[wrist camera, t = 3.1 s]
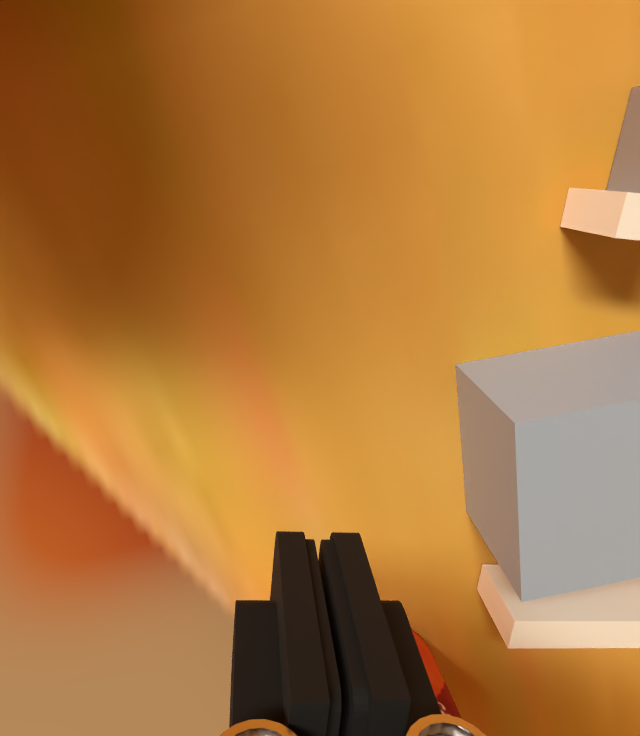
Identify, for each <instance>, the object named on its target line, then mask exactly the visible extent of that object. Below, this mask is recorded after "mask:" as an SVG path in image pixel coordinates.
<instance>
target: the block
mask: <svg viewBox="0 0 640 736" xmlns="http://www.w3.org/2000/svg"><path fill="white" fill-rule="evenodd" d="M455 366H456V379H457V393H458V406H459V419H460V433H461V446H462V460H463V473H464V487H465V500H466V512H467V513H468V515H469V517H470V518H471V520H472V522H473V523H474V525H475V527H476V528H477V530H478V531H479V533H480V535H481V536H482V538H483V540H484V541H485V543H486V545H487V546H488V548H489V549H490V551H491V553H492V554H493V556H494V558H495V559H496V561H497V563H498V564H499V566H500V567H501V569H502V571H503V572H504V574H505V576H506V577H507V579H508V581H509V582H510V584H511V586H512V587H513V589H514V590H515V592H516V594H517V595H518V597H519V599H520V600H521V602H524V601H529V600H534V599H539V598H544V597H549V596H554V595H559V594H563V593H568V592H573V591H578V590H583V589H588V588H593V587H598V586H603V585H607V584H612V583H617V582H622V581H627V580H632V579H637V578H640V331H635V332H630V333H624V334H619V335H613V336H608V337H602V338H597V339H591V340H586V341H580V342H575V343H569V344H564V345H558V346H553V347H547V348H542V349H536V350H531V351H525V352H520V353H514V354H509V355H503V356H498V357H492V358H487V359H482V360H476V361H471V362H465V363H460V364H455Z"/></svg>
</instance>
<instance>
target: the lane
mask: <svg viewBox="0 0 640 736" xmlns="http://www.w3.org/2000/svg"><path fill="white" fill-rule="evenodd" d="M560 227H564V228H569V229H574V230H578V231H583V232H588V233H593V234H598V235H603V236H608V237H613V238H620V239H631V240H640V86H638V87H633V88H632V90H631V94H630V98H629V102H628V106H627V110H626V114H625V118H624V122H623V126H622V130H621V134H620V138H619V142H618V146H617V150H616V154H615V158H614V162H613V166H612V170H611V174H610V178H609V182H608V186H607V190H593V189H580V188H569V191H568V195H567V199H566V204H565V208H564V212H563V217H562V221H561V225H560ZM477 591H478V592H479V594H480V596H481V598H482V600H483V602H484V604H485V606H486V608H487V610H488V612H489V614H490V615H491V617H492V619H493V621H494V623H495V625H496V627H497V629H498V631H499V633H500V635H501V637H502V638H503V640H504V642H505V644H506V646H507V648H640V578H637V579H632V580H627V581H622V582H617V583H612V584H607V585H603V586H598V587H593V588H588V589H583V590H578V591H573V592H568V593H563V594H559V595H554V596H549V597H544V598H539V599H534V600H529V601H524V602H521V600H520V599H519V597H518V595H517V594H516V592H515V590H514V589H513V587H512V586H511V584H510V582H509V581H508V579H507V577H506V576H505V574H504V572H503V571H502V569H501V567H500V566H499V565H493V564H483V565H482V569H481V574H480V578H479V582H478V587H477Z"/></svg>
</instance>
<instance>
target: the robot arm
mask: <svg viewBox="0 0 640 736" xmlns="http://www.w3.org/2000/svg"><path fill="white" fill-rule="evenodd" d="M229 726H230V727H229V729H227V730H226V731H225V732H223V733H222V734H221V735H220V736H486V735H485V734H484V733H483V732H482V731H480V730H479V729H478V728H477V727H476V726H474V725H473V724H471V723H469V722H467V721H465V720H463V719H461V718H458V717H454V716H450V715H446V714H442V713H441V710H440V708H439V705H438V702H437V699H436V696H435V694H434V691H433V688H432V685H431V683H430V680H429V677H428V674H427V671H426V669H425V666H424V663H423V660H422V657H421V655H420V652H419V649H418V646H417V644H416V641H415V638H414V635H413V632H412V630H411V627H410V624H409V621H408V619H407V616H406V613H405V610H404V608H403V606H402V604H401V603H400V602H399V601H380V597H379V594H378V591H377V588H376V584H375V581H374V578H373V575H372V572H371V568H370V565H369V562H368V559H367V555H366V552H365V549H364V546H363V543H362V539H361V536H360V534H359V533H334V532H332V534H331V536H330V540H321V544H320V552H319V560H318V558H317V552H316V546H315V541H314V540H313V539H305V535H304V532H279V531H277V532H276V538H275V549H274V561H273V573H272V584H271V596H270V601H263V600H236V605H235V619H234V635H233V652H232V673H231V698H230V725H229Z"/></svg>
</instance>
